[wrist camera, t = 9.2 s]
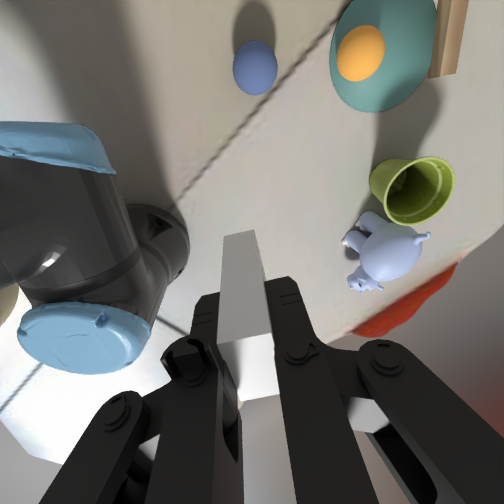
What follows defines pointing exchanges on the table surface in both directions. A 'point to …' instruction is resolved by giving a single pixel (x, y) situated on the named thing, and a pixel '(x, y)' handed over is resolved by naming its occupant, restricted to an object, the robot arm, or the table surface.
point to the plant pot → (413, 188)
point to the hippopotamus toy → (382, 251)
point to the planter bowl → (8, 301)
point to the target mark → (387, 51)
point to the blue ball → (255, 67)
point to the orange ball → (360, 53)
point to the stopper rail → (447, 37)
